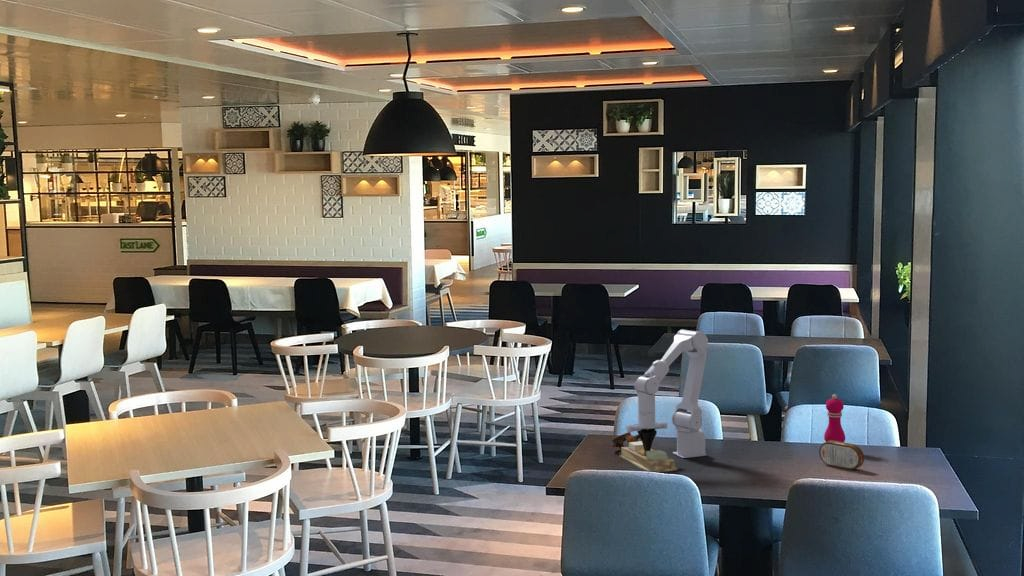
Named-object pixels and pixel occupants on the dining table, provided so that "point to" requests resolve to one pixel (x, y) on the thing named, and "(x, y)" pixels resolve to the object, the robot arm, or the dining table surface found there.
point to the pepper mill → (834, 420)
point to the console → (647, 461)
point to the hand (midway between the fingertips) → (647, 450)
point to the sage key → (656, 455)
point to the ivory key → (636, 446)
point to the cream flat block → (643, 452)
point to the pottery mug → (624, 439)
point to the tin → (841, 455)
